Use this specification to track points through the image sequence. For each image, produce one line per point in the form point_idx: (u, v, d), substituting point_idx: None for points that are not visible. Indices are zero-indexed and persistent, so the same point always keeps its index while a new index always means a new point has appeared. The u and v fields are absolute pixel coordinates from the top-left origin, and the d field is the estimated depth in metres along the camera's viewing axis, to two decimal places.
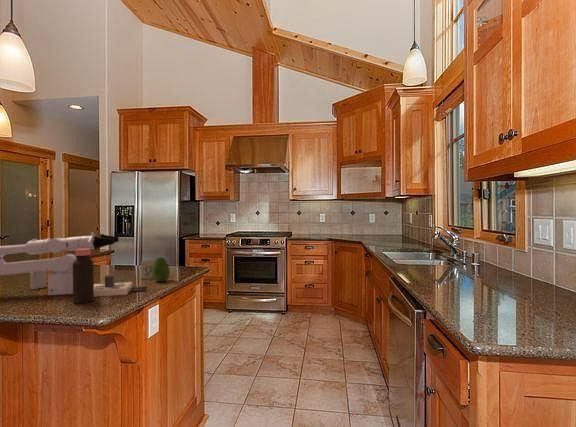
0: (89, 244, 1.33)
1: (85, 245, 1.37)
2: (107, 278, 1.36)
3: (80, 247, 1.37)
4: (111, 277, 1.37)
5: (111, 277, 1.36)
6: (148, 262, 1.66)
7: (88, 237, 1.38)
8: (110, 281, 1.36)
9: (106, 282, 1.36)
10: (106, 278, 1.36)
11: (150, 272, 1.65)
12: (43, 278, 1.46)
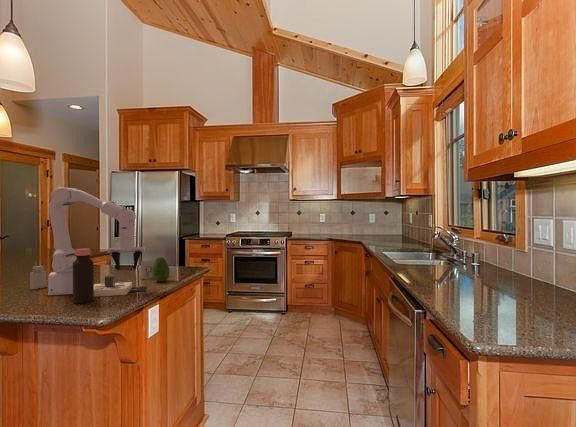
0: None
1: None
2: (107, 278, 1.36)
3: None
4: (111, 277, 1.37)
5: (111, 277, 1.36)
6: (148, 262, 1.66)
7: (121, 246, 1.37)
8: (110, 281, 1.36)
9: (106, 282, 1.36)
10: (106, 278, 1.36)
11: (150, 272, 1.65)
12: (43, 278, 1.46)
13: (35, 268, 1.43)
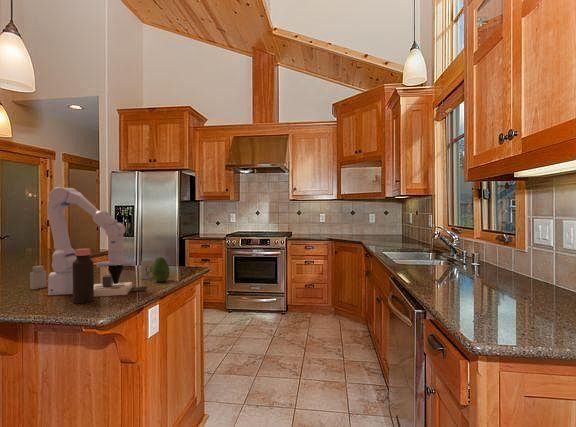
0: None
1: None
2: (105, 278, 1.36)
3: None
4: (109, 277, 1.36)
5: (109, 277, 1.36)
6: (148, 262, 1.66)
7: (110, 260, 1.36)
8: (108, 281, 1.36)
9: (104, 282, 1.36)
10: (104, 278, 1.36)
11: (150, 272, 1.65)
12: (43, 278, 1.46)
13: (35, 268, 1.43)
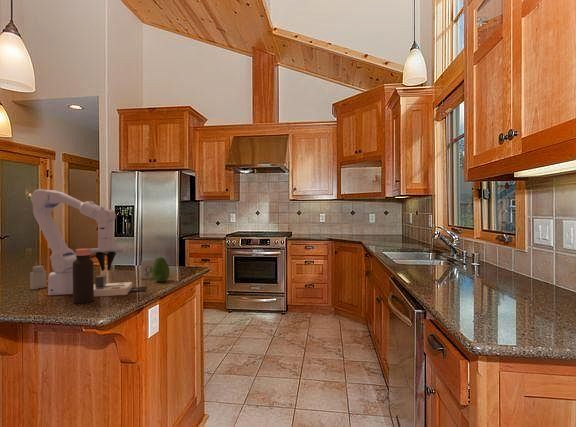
0: None
1: None
2: (97, 278, 1.35)
3: None
4: (102, 277, 1.36)
5: (101, 277, 1.36)
6: (148, 262, 1.66)
7: (99, 247, 1.35)
8: (101, 281, 1.35)
9: (96, 282, 1.35)
10: (96, 278, 1.35)
11: (150, 272, 1.65)
12: (43, 278, 1.46)
13: (35, 268, 1.43)
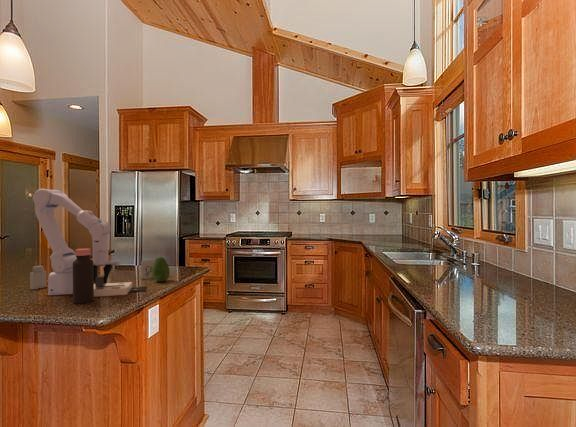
0: None
1: None
2: (98, 278, 1.35)
3: None
4: (102, 277, 1.36)
5: (101, 277, 1.36)
6: (148, 262, 1.66)
7: (94, 260, 1.34)
8: (101, 281, 1.35)
9: (97, 282, 1.35)
10: (97, 278, 1.35)
11: (150, 272, 1.65)
12: (43, 278, 1.46)
13: (35, 268, 1.43)
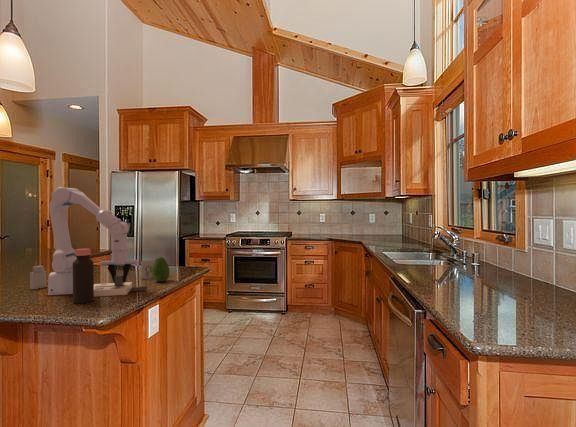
0: None
1: None
2: (117, 278, 1.37)
3: None
4: (121, 277, 1.37)
5: (120, 276, 1.37)
6: (148, 262, 1.66)
7: (114, 259, 1.36)
8: (120, 281, 1.37)
9: (116, 282, 1.37)
10: (116, 278, 1.37)
11: (150, 272, 1.65)
12: (43, 278, 1.46)
13: (35, 268, 1.43)
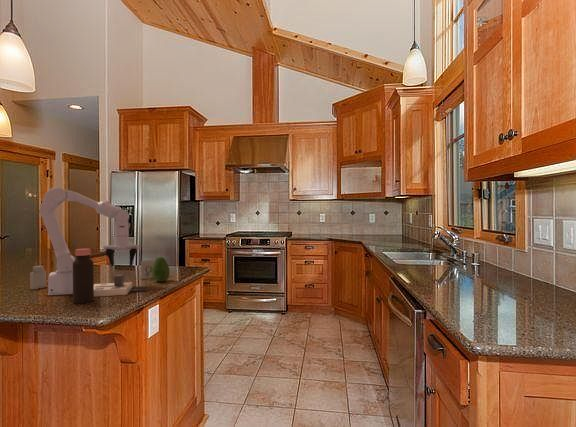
0: None
1: None
2: (116, 278, 1.37)
3: None
4: (120, 277, 1.37)
5: (120, 276, 1.37)
6: (148, 262, 1.66)
7: (116, 244, 1.45)
8: (119, 281, 1.37)
9: (115, 282, 1.37)
10: (115, 278, 1.37)
11: (150, 272, 1.65)
12: (43, 278, 1.46)
13: (35, 268, 1.43)
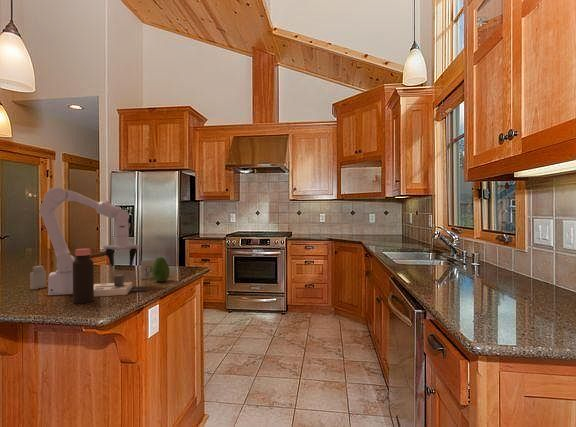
0: None
1: None
2: (116, 278, 1.37)
3: None
4: (120, 277, 1.37)
5: (120, 276, 1.37)
6: (148, 262, 1.66)
7: (116, 244, 1.46)
8: (119, 281, 1.37)
9: (115, 282, 1.37)
10: (115, 278, 1.37)
11: (150, 272, 1.65)
12: (43, 278, 1.46)
13: (35, 268, 1.43)
